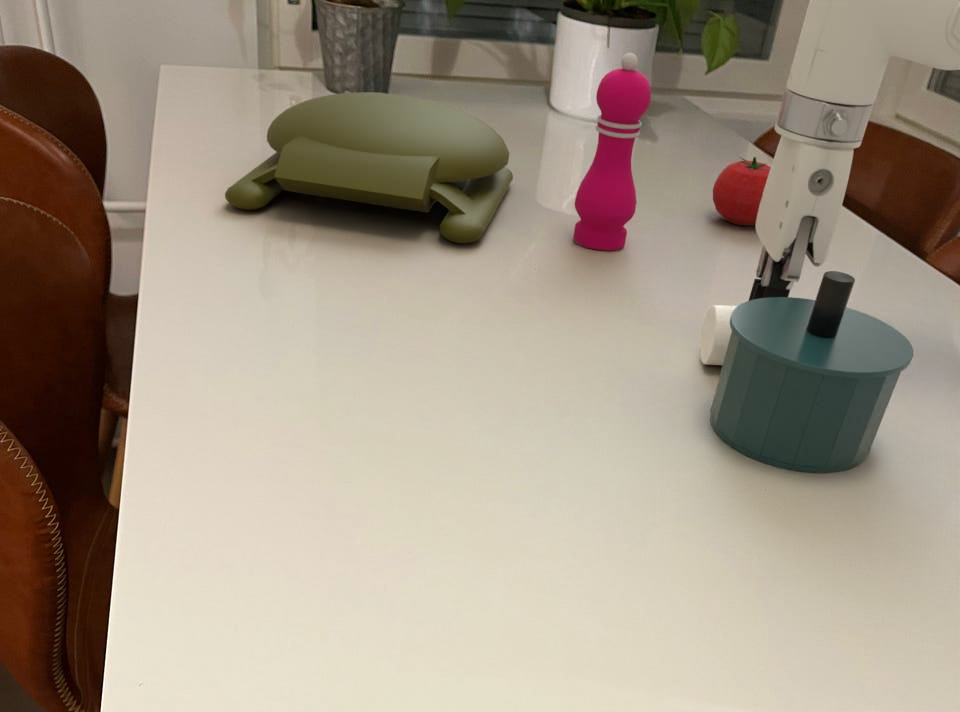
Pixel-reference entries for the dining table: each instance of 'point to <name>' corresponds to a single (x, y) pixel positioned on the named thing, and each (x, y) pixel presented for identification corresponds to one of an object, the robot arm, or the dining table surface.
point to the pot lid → (822, 333)
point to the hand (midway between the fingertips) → (760, 323)
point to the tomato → (740, 191)
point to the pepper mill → (612, 160)
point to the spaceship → (384, 158)
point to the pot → (796, 412)
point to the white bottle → (716, 334)
